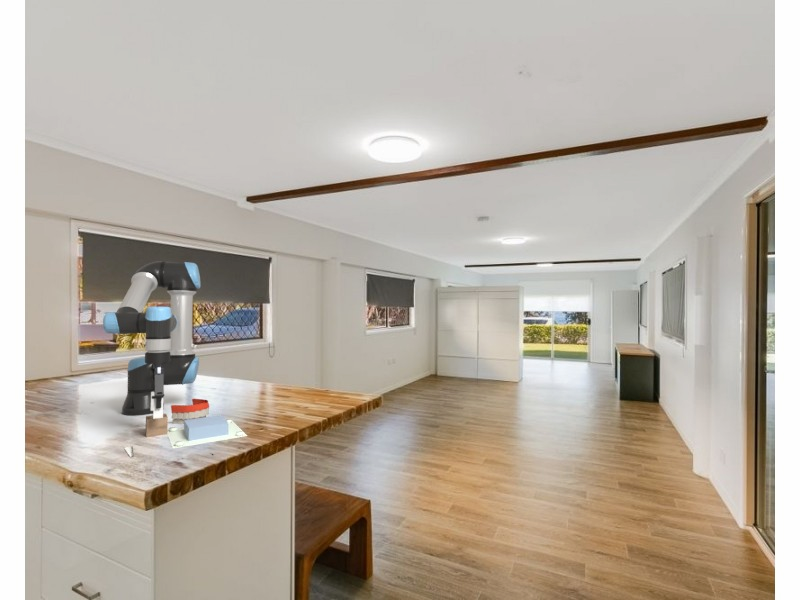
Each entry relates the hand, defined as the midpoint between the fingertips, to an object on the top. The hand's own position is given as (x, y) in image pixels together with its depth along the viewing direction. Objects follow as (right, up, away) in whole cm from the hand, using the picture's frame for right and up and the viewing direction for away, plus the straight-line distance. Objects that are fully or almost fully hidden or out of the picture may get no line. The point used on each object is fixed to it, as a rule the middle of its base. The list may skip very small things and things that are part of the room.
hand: (156, 414), depth 138 cm
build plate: (+16, -8, +1) cm, 18 cm away
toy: (+4, -9, +17) cm, 19 cm away
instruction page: (+3, -8, -12) cm, 15 cm away
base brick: (+16, -7, +1) cm, 18 cm away
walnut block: (0, -8, 0) cm, 8 cm away
